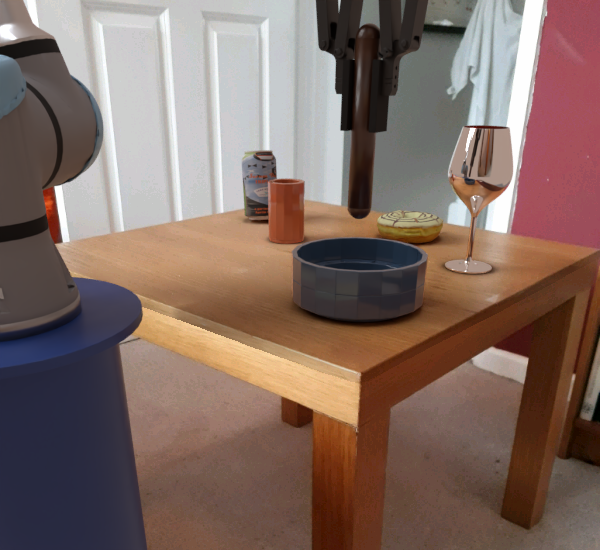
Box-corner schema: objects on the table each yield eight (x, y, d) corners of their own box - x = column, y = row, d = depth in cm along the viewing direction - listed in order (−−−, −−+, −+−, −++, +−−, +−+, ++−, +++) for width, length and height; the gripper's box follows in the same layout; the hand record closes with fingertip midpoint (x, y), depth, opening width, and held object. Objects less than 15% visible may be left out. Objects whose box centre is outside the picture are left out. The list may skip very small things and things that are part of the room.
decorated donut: (428, 229, 109) (431, 207, 107) (450, 244, 100) (453, 220, 98) (369, 230, 108) (371, 208, 106) (385, 246, 98) (387, 221, 97)
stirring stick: (342, 219, 69) (351, 22, 61) (353, 215, 71) (363, 24, 63) (364, 222, 68) (376, 21, 60) (374, 218, 70) (387, 23, 62)
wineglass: (467, 279, 83) (487, 130, 75) (425, 264, 89) (439, 125, 81) (510, 270, 87) (534, 128, 79) (467, 256, 93) (484, 123, 85)
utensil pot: (262, 240, 101) (260, 182, 97) (281, 233, 105) (281, 177, 101) (291, 245, 99) (291, 185, 94) (310, 238, 103) (311, 180, 99)
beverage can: (251, 225, 111) (249, 152, 105) (237, 217, 117) (235, 148, 111) (284, 222, 113) (284, 150, 108) (269, 214, 119) (268, 146, 114)
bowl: (266, 310, 72) (265, 258, 69) (331, 277, 84) (333, 231, 81) (388, 336, 65) (393, 280, 62) (441, 297, 76) (447, 247, 74)
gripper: (481, -166, 54) (448, 132, 65) (322, -140, 61) (316, 124, 72) (451, -194, 48) (420, 138, 59) (280, -162, 55) (280, 129, 66)
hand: (363, 130), depth 66 cm, fingers closed on stirring stick, 3 cm apart
